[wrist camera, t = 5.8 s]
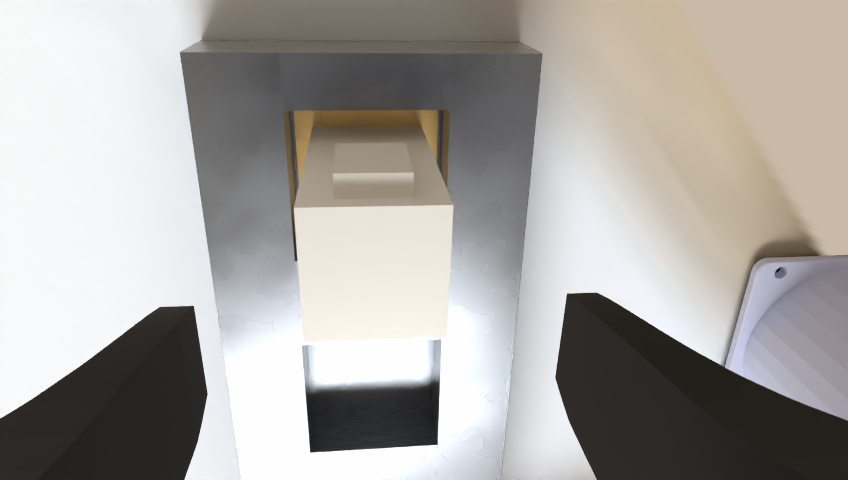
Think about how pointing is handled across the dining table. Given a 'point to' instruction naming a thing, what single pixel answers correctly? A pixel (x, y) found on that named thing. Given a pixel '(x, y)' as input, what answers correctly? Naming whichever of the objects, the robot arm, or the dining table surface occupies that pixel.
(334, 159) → the plug
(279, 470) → the grey slotted board
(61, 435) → the robot arm
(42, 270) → the dining table surface
